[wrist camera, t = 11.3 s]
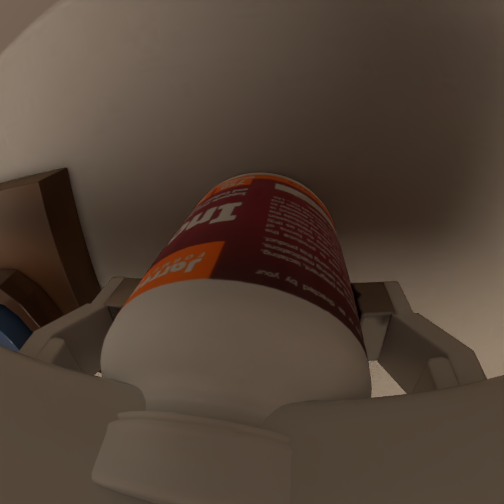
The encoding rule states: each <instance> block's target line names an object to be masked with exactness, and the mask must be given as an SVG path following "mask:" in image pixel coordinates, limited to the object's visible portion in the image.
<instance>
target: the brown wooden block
mask: <svg viewBox="0 0 504 504" xmlns="http://www.w3.org/2000/svg"><path fill="white" fill-rule="evenodd" d="M100 292H101V290H100V287H99V285H98V282H97V279H96V276H95V273H94V270H93V267H92V264H91V261H90V258H89V255H88V251H87V248H86V245H85V241H84V238H83V234H82V231H81V227H80V224H79V220H78V216H77V212H76V208H75V204H74V200H73V195H72V191H71V187H70V182H69V177H68V172H67V168H62V169H57V170H53V171H48V172H44V173H39V174H35V175H31V176H27V177H23V178H19V179H15V180H11V181H8V182H4V183H0V304H2V305H5V306H6V307H7V308H9V309H10V310H11V311H12V312H14V313H15V314H16V315H18V316H19V317H20V318H21V319H22V320H23V322H24V323H25V324H26V325H27V326H28V327H29V329H30V330H31V331H32V332H34V331H36V330H38V329H39V328H41V327H43V326H45V325H47V324H49V323H51V322H53V321H55V320H56V319H58V318H60V317H62V316H64V315H66V314H68V313H70V312H72V311H74V310H76V309H78V308H79V307H81V306H83V305H85V304H87V303H88V304H91V303H92V302H93V300H94V299H95V298H96V297H97V295H98V294H99V293H100ZM98 372H100V373H101V370H100V371H98Z"/></svg>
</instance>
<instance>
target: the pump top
mask: <svg viewBox="0 0 504 504" xmlns="http://www.w3.org/2000/svg"><path fill="white" fill-rule="evenodd" d="M32 334H33V332H32V331H31V330H30V329H29V327H28V326H27V325H26V324H25V323H24V322H23V320H22V319H21V318H20V317H19V316H18V315H16V314H15V313H14V312H12V311H11V310H10V309H9V308H7V307H6V306H5V305H2V304H0V346H3V347H5V348H8V349H10V350H13V351H16V352H19V350H20V349H21V348H22V346H23V345H24V344H25V343H26V341H27V340H28V339H29V337H30V336H31V335H32Z"/></svg>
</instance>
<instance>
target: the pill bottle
mask: <svg viewBox="0 0 504 504" xmlns="http://www.w3.org/2000/svg"><path fill="white" fill-rule="evenodd" d="M100 365H101V374H102V377H103V378H107V379H111V380H116V381H120V382H125V383H129V384H132V385H134V386H136V387H138V388H139V389H140V390H141V391H142V393H143V395H144V398H145V400H146V411H128V412H122V413H118V417H119V420H116V421H113V422H110V423H109V424H108V427H107V432H106V435H105V438H104V441H103V443H102V446H101V449H100V451H99V454H98V457H97V459H96V462H95V465H94V468H93V471H92V480H93V481H94V483H96V484H98V485H100V486H102V487H105V488H108V489H111V490H113V491H116V492H119V493H122V494H125V495H129V496H132V497H135V498H139V499H142V500H146V501H149V502H153V503H157V504H290V487H291V459H292V449H291V447H290V446H289V445H288V442H289V441H290V439H291V438H290V437H289V436H286V435H283V434H280V433H276V432H273V431H269V430H266V429H261V428H260V426H261V424H262V423H263V422H264V420H265V419H266V418H267V417H268V416H269V415H270V414H271V413H272V412H273V411H274V410H276V409H278V408H279V407H280V406H282V405H286V404H289V403H294V402H302V401H313V400H344V399H361V398H371V390H372V388H371V376H370V370H369V363H368V357H367V351H366V348H365V344H364V339H363V334H362V330H361V326H360V321H359V317H358V313H357V308H356V304H355V300H354V294H353V292H352V288H351V284H350V280H349V275H348V272H347V268H346V265H345V261H344V258H343V254H342V250H341V246H340V243H339V239H338V236H337V232H336V228H335V225H334V223H333V220H332V218H331V216H330V214H329V212H328V210H327V208H326V207H325V205H324V204H323V203H322V201H321V200H320V199H319V198H318V197H317V196H316V195H315V194H314V193H313V192H312V191H311V190H310V189H308V188H307V187H306V186H304V185H303V184H301V183H299V182H297V181H295V180H293V179H291V178H288V177H286V176H282V175H278V174H273V173H264V172H258V173H247V174H241V175H238V176H235V177H232V178H229V179H227V180H225V181H223V182H221V183H220V184H218V185H217V186H215V187H214V188H213V189H212V190H210V191H209V192H208V193H207V194H206V195H205V196H204V197H203V198H202V200H201V201H200V202H199V203H198V204H197V206H196V207H195V208H194V210H193V211H192V212H191V214H190V215H189V216H188V218H187V219H186V220H185V222H184V223H183V224H182V226H181V227H180V228H179V230H178V231H177V232H176V234H175V235H174V236H173V238H172V239H171V240H170V242H169V243H168V245H167V246H166V247H165V248H164V249H163V251H162V252H161V253H160V255H159V256H158V258H157V259H156V261H155V262H154V263H153V264H152V266H151V267H150V269H149V270H148V271H147V273H146V274H145V276H144V277H143V279H142V280H141V281H140V283H139V284H138V286H137V287H136V289H135V290H134V291H133V293H132V294H131V295H130V297H129V299H128V300H127V302H126V303H125V304H124V306H123V307H122V309H121V310H120V312H119V313H118V314H117V316H116V318H115V320H114V322H113V324H112V325H111V327H110V329H109V331H108V333H107V335H106V337H105V339H104V343H103V347H102V352H101V359H100Z"/></svg>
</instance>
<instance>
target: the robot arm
mask: <svg viewBox="0 0 504 504" xmlns="http://www.w3.org/2000/svg"><path fill="white" fill-rule="evenodd" d="M141 280H142V278H126V277H113V278H111V280H110V281H109V282H108V283H107V284H106V286H105V287H104V288H103V289H102V290H101V292H100V293H99V294H98V295H97V297H96V298H95V299H94V300H93V302H92V303H91V304H88V303H87V304H85V305H83V306H81V307H79V308H78V309H76V310H74V311H72V312H70V313H68V314H66V315H64V316H62V317H60V318H58V319H56V320H55V321H53V322H51V323H49V324H47V325H45V326H43V327H41V328H39V329H38V330H36V331H34V332H33V334H32V335H31V336H30V337H29V339H28V340H27V341H26V343H25V344H24V345H23V346H22V348H21V349H20V350H19V352H16V351H13V350H10V349H8V348H5V347H3V346H0V504H157V503H153V502H149V501H146V500H142V499H139V498H135V497H132V496H129V495H125V494H122V493H119V492H116V491H113V490H111V489H108V488H105V487H102V486H100V485H98V484H96V483H94V481H93V480H92V471H93V468H94V465H95V462H96V459H97V457H98V454H99V451H100V449H101V446H102V443H103V441H104V438H105V435H106V432H107V427H108V424H109V423H110V422H113V421H116V420H119V417H118V413H122V412H128V411H146V400H145V398H144V395H143V393H142V391H141V390H140V389H139V388H138V387H136V386H134V385H132V384H129V383H125V382H120V381H116V380H111V379H107V378H103V377H98V376H94V375H95V374H96V373H97V372H98V371H100V370H101V365H100V359H101V352H102V347H103V343H104V339H105V337H106V335H107V333H108V331H109V329H110V327H111V325H112V324H113V322H114V320H115V318H116V316H117V314H118V313H119V312H120V310H121V309H122V307H123V306H124V304H125V303H126V302H127V300H128V299H129V297H130V295H131V294H132V293H133V291H134V290H135V289H136V287H137V286H138V284H139V283H140V281H141ZM351 288H352V292H353V294H354V300H355V304H356V308H357V313H358V317H359V321H360V326H361V330H362V334H363V339H364V344H365V348H366V351H367V357H368V361H373V360H378V363H379V364H380V365H381V366H382V367H383V368H384V369H385V370H386V371H387V372H388V373H389V374H390V376H391V377H392V378H393V379H394V380H395V381H396V382H397V383H398V384H399V385H400V387H401V388H402V389H403V390H404V391H405V392H406V393H407V394H403V395H394V396H385V397H374V398H361V399H344V400H313V401H302V402H294V403H289V404H286V405H282V406H280V407H279V408H278V409H276V410H274V411H273V412H272V413H271V414H270V415H269V416H268V417H267V418H266V419H265V420H264V422H263V423H262V424H261V426H260V428H261V429H266V430H269V431H273V432H276V433H280V434H283V435H286V436H289V437H290V438H291V439H290V441H289V442H288V445H289V446H290V447H291V449H292V459H291V487H290V504H504V375H502V376H498V377H494V378H490V379H487V378H486V376H485V374H484V371H483V369H482V367H481V365H480V363H479V361H478V359H477V357H476V355H475V353H474V351H473V350H472V349H470V348H469V347H467V346H466V345H464V344H463V343H461V342H460V341H459V340H457V339H456V338H454V337H453V336H451V335H450V334H448V333H447V332H445V331H444V330H443V329H441V328H440V327H438V326H437V325H435V324H434V323H432V322H431V321H429V320H428V319H426V318H425V317H423V316H422V315H420V314H419V313H413V311H412V309H411V307H410V305H409V302H408V300H407V298H406V296H405V294H404V292H403V290H402V288H401V286H400V284H399V282H397V281H386V282H366V283H351Z"/></svg>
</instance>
